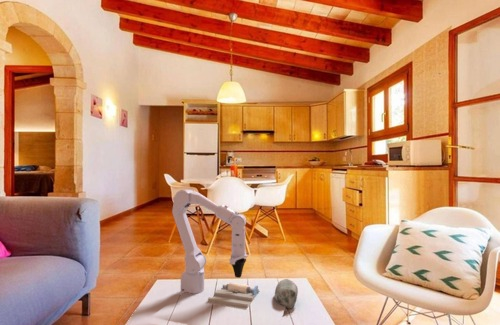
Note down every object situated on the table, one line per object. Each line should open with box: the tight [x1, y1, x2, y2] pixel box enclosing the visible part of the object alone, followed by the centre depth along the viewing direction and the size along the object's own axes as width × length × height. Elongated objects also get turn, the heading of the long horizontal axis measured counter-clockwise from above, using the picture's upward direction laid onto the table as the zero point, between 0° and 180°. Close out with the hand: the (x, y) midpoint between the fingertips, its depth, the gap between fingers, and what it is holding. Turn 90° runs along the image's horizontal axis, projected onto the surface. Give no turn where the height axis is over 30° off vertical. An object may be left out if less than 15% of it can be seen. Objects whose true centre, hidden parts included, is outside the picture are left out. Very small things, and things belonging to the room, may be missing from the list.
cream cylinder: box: [225, 282, 252, 294], centre depth 123 cm, size 10×4×4 cm, turn 72°
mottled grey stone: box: [274, 278, 299, 310], centre depth 118 cm, size 14×10×10 cm
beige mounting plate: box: [206, 284, 260, 310], centre depth 120 cm, size 16×18×4 cm
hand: (238, 277), depth 124 cm, fingers closed
